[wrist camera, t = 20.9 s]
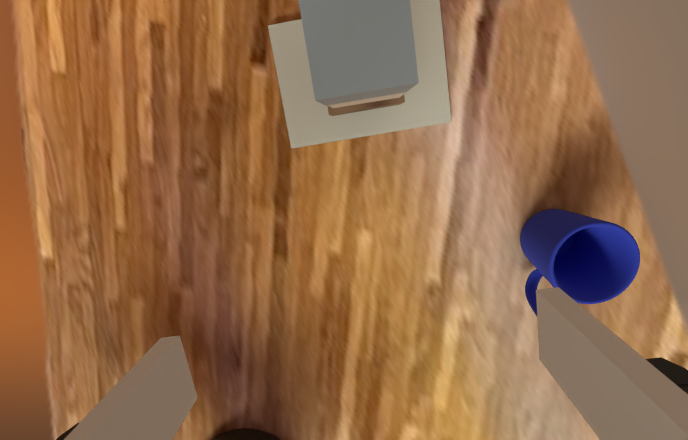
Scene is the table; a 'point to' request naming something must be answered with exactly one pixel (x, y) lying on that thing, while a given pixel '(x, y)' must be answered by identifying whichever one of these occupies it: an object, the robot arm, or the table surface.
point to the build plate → (319, 127)
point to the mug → (578, 256)
